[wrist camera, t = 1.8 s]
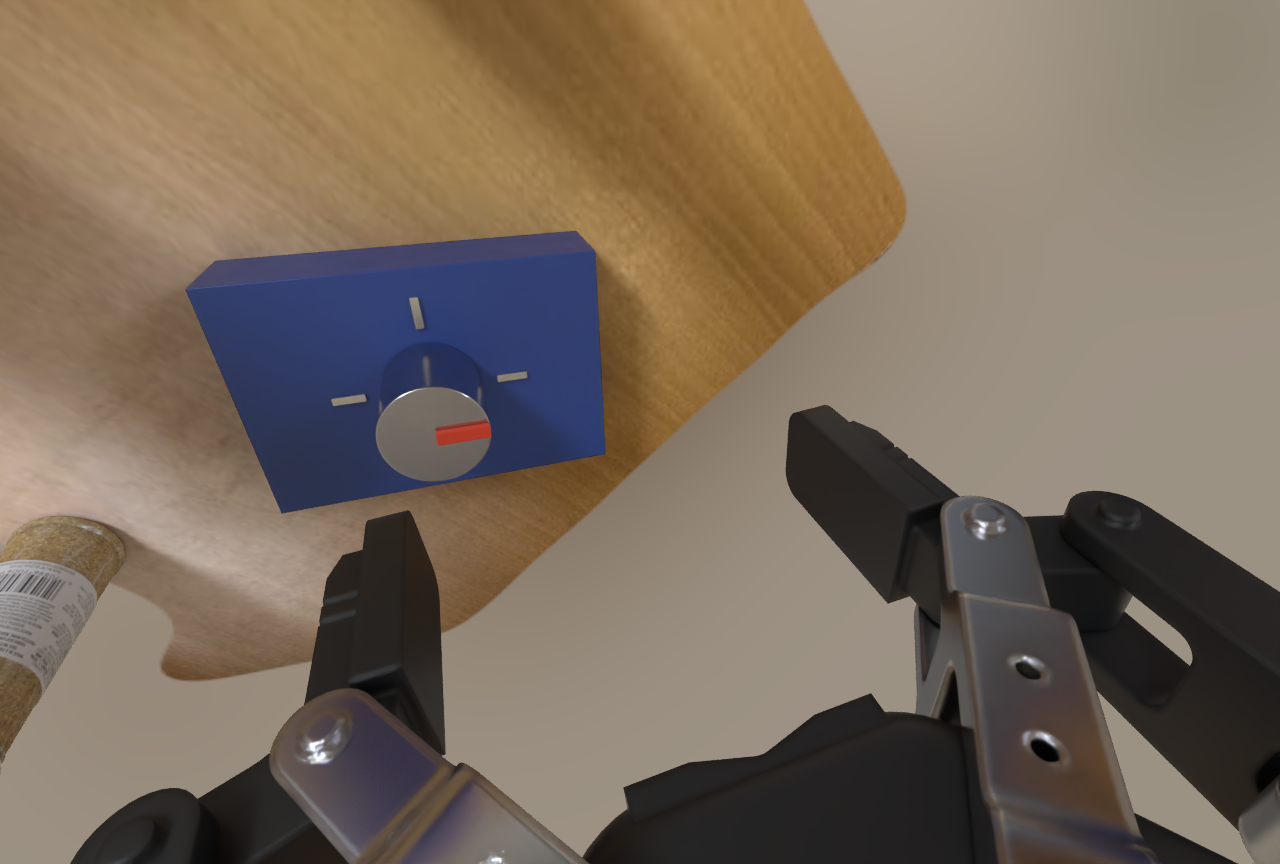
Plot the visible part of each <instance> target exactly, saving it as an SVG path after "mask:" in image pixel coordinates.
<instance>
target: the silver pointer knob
mask: <svg viewBox="0 0 1280 864" xmlns="http://www.w3.org/2000/svg"><path fill="white" fill-rule="evenodd" d="M491 437H492V431H491V424H490V418H489V413H488V408H487V403H486V398H485V393H484V388H483V383H482V378H481V375H480V372H479V370H478V368H477V367H476V365H475V364H474V363H473V361H472V360H471V359H470V358H469V357H468V356H467V355H465V354H464V353H462V352H461V351H459V350H457V349H455V348H453V347H450V346H447V345H443V344H435V343H427V344H419V345H415V346H412V347H409V348H407V349H405V350H403V351H401V352H400V353H398V354H397V355H396V356H395V357H394V358H393V359H392V360H391V361H390V362H389V364H388V365H387V366H386V368H385V371H384V373H383V376H382V382H381V390H380V398H379V406H378V414H377V422H376V430H375V439H376V444H377V447H378V450H379V452H380V454H381V456H382V457H383V458H384V460H385V461H386V462H387V463H388V464H389V465H390V466H391V467H392V468H393V469H395V470H396V471H397V472H399V473H401V474H403V475H405V476H407V477H410V478H413V479H416V480H422V481H444V480H449V479H453V478H456V477H459V476H461V475H463V474H465V473H467V472H468V471H470V470H471V469H473V468H474V467H475V466H476V465H477V464H478V463H479V462H480V461H481V460H482V459H483V457H484V456H485V454H486V452H487V451H488V448H489V446H490V442H491Z"/></svg>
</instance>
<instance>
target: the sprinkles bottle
mask: <svg viewBox="0 0 1280 864" xmlns="http://www.w3.org/2000/svg"><path fill="white" fill-rule="evenodd" d="M124 558H125V551H124V545H123V544H122V543H121V541H120V540H119V538H117V537H116V536H115V535H114V534H113V532H111V531H110V530H108V529H106V528H105V527H104V526H102V525H100V524H98V523H95V522H93V521H90V520H85V519H80V518H75V517H67V516H65V517H63V516H58V517H57V516H53V517H46V518H41V519H37V520H34V521H31V522H29V523H27V524H25V525H23V526H22V527H20V528H18V529H17V530H16V531H15V532H14V533H13V534H12V536H11V537H10V539H9V541H8V542H7V544H6V547H5V548H4V550H3V551H2V552H1V553H0V772H1V764H2V763H3V761H4V758H5V754H6V752H7V751H8V749H9V748H10V746H11V744H12V743H13V741H14V739H15V737H16V736H17V734H18V732H19V731H20V729H21V728H22V726H23V724H24V723H25V721H26V719H27V717H28V716H29V714H30V712H31V711H32V709H33V708H34V707H35V705H37V703H38V702H39V700H40V699H41V697H42V695H43V694H44V692H45V690H46V689H47V687H48V685H49V684H50V682H51V680H52V679H53V677H54V675H55V674H56V672H57V670H58V669H59V667H60V665H61V664H62V662H63V660H64V659H65V657H66V655H67V654H68V652H69V650H70V649H71V647H72V645H73V644H74V642H75V641H76V639H77V637H78V635H79V634H80V632H81V631H82V629H83V627H84V626H85V624H86V622H87V621H88V619H89V617H90V616H91V614H92V612H93V611H94V609H95V607H96V603H97V601H98V599H99V598H100V596H101V595H102V593H103V591H104V590H105V588H106V586H107V585H108V583H109V581H110V579H111V578H112V577H113V576H114V575H115V574H116V573H117V572H118V571H119V569H120V567H121V566H122V565H123V562H124Z"/></svg>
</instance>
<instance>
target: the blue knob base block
mask: <svg viewBox="0 0 1280 864" xmlns="http://www.w3.org/2000/svg"><path fill="white" fill-rule="evenodd" d="M186 292H187V294H188V297H189V299H190V301H191V304H192V306H193V308H194V311H195V313H196V315H197V318H198V320H199V322H200V325H201V327H202V329H203V332H204V334H205V336H206V339H207V341H208V343H209V346H210V348H211V350H212V352H213V355H214V357H215V359H216V362H217V364H218V366H219V369H220V371H221V373H222V376H223V378H224V380H225V383H226V385H227V387H228V390H229V392H230V394H231V397H232V399H233V401H234V404H235V406H236V408H237V411H238V413H239V415H240V418H241V420H242V422H243V425H244V427H245V429H246V431H247V434H248V436H249V438H250V441H251V443H252V445H253V448H254V450H255V452H256V455H257V457H258V459H259V462H260V464H261V466H262V469H263V471H264V473H265V476H266V478H267V480H268V483H269V485H270V487H271V490H272V492H273V494H274V497H275V499H276V501H277V504H278V506H279V508H280V510H281V513H287V512H292V511H298V510H303V509H308V508H314V507H319V506H325V505H330V504H336V503H341V502H347V501H352V500H357V499H363V498H368V497H374V496H379V495H385V494H390V493H396V492H401V491H407V490H412V489H417V488H423V487H428V486H434V485H439V484H445V483H450V482H456V481H461V480H466V479H472V478H477V477H483V476H488V475H494V474H499V473H505V472H510V471H515V470H521V469H526V468H532V467H537V466H543V465H548V464H554V463H559V462H564V461H570V460H575V459H581V458H586V457H592V456H597V455H603V454H605V437H604V416H603V396H602V376H601V355H600V335H599V315H598V294H597V274H596V254H595V250H594V249H593V248H592V247H591V246H590V245H589V244H588V243H587V242H586V241H585V240H584V239H583V238H582V237H581V236H580V235H579V233H578V232H577V231H569V232H557V233H545V234H533V235H521V236H509V237H497V238H485V239H473V240H461V241H449V242H437V243H425V244H413V245H401V246H389V247H377V248H365V249H353V250H341V251H329V252H317V253H305V254H293V255H281V256H269V257H257V258H245V259H234V260H222V261H215V262H214V263H213V264H212V265H210V266H209V267H208V268H207V269H206V270H205V271H204V272H203V273H202V274H201V275H200V276H199V277H198V278H197V279H196V280H195V281H194V282H192V283H191V284H190V285H189V286H188V287H187V288H186ZM427 343H435V344H443V345H447V346H450V347H453V348H455V349H457V350H459V351H461V352H462V353H464V354H465V355H467V356H468V357H469V358H470V359H471V360H472V361H473V363H474V364H475V365H476V367H477V368H478V370H479V372H480V375H481V378H482V383H483V388H484V393H485V398H486V403H487V408H488V413H489V418H490V424H491V431H492V437H491V442H490V446H489V448H488V451H487V452H486V454H485V456H484V457H483V459H482V460H481V461H480V462H479V463H478V464H477V465H476V466H475V467H474V468H473V469H471V470H470V471H468V472H467V473H465V474H463V475H461V476H459V477H456V478H453V479H449V480H444V481H422V480H416V479H413V478H410V477H407V476H405V475H403V474H401V473H399V472H397V471H396V470H395V469H393V468H392V467H391V466H390V465H389V464H388V463H387V462H386V461H385V460H384V458H383V457H382V456H381V454H380V452H379V450H378V447H377V444H376V439H375V430H376V422H377V414H378V406H379V398H380V390H381V382H382V376H383V373H384V371H385V368H386V366H387V365H388V364H389V362H390V361H391V360H392V359H393V358H394V357H395V356H396V355H397V354H398V353H400V352H401V351H403V350H405V349H407V348H409V347H412V346H415V345H419V344H427Z"/></svg>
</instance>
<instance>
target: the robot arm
mask: <svg viewBox="0 0 1280 864" xmlns="http://www.w3.org/2000/svg"><path fill="white" fill-rule="evenodd" d="M786 477H787V482H788V485H789V487H790V490H791V491H792V493H793V495H794V496H795V498H796V499H797V500H798V501H799V502H800V504H802V505H803V507H804V508H805V509H806V510H807V511H808V513H809V514H810V515H811V516H812V517H813V518H814V520H815V521H816V522H817V523H818V524H819V525H820V526H821V528H822V529H823V530H824V531H825V532H826V533H827V534H828V536H829V537H830V538H831V539H832V540H833V541H834V542H835V544H836V545H837V546H838V547H839V548H840V549H841V550H842V552H843V553H844V554H845V555H846V556H847V557H848V558H849V560H850V561H851V562H852V563H853V564H854V565H855V566H856V568H857V569H858V570H859V571H860V572H861V573H862V574H863V576H864V577H865V578H866V579H867V580H868V581H869V582H870V584H871V585H872V586H873V587H874V588H875V589H876V590H877V592H878V593H879V594H880V595H881V596H882V597H883V598H884V599H885V601H886V602H887V603H891V602H894V601H897V600H900V599H903V598H906V597H909V596H910V597H911V598H912V599H913V600H914V601H915V602H916V603H917V604H916V607H915V612H914V630H915V658H916V683H917V701H916V711H915V714H913V713H905V712H884V711H883V709H882V708H881V706H880V705H879V704H878V703H877V701H876V699H875V698H874V697H873V695H872V694H868V695H865V696H863V697H860V698H857V699H855V700H852V701H849V702H847V703H844V704H842V705H839V706H836V707H834V708H831V709H828V710H826V711H823V712H821V713H818V714H815V715H814V716H812V717H811V718H810V719H809V720H807V721H806V722H805V723H803V724H802V725H801V726H800V727H798V728H797V729H796V730H794V731H793V732H792V733H791V734H789V735H788V736H787V737H786V738H784V739H783V740H782V741H780V742H779V743H778V744H777V745H776V746H774V747H773V748H771V749H770V750H769V751H767V752H766V753H764V754H762V755H759V756H754V757H743V758H733V759H722V760H712V761H701V762H690V763H687V764H684V765H681V766H679V767H676V768H673V769H671V770H668V771H666V772H663V773H660V774H658V775H655V776H652V777H650V778H647V779H645V780H642V781H639V782H637V783H634V784H631V785H629V786H626V787H624V793H625V798H626V803H627V808H628V809H627V810H625V811H624V812H623V813H621V814H620V815H619V816H618V817H616V818H615V819H614V820H613V821H612V822H611V823H610V824H609V825H608V826H607V827H606V828H605V829H604V830H603V831H602V832H601V833H600V834H599V835H598V836H597V838H596V839H595V840H594V841H593V843H592V844H591V845H590V846H589V848H588V849H587V851H586V852H585V854H584V855H583V857H581V856H579V855H578V854H577V853H576V852H575V851H573V850H572V849H571V848H570V847H569V846H567V845H566V844H565V843H564V842H562V841H561V840H560V839H559V838H557V837H556V836H555V835H554V834H553V833H552V832H550V831H549V830H548V829H547V828H546V827H544V826H543V825H542V824H541V823H539V822H538V821H537V820H536V819H535V818H533V817H532V816H531V815H530V814H529V813H527V812H526V811H525V810H524V809H522V808H521V807H520V806H519V805H518V804H516V803H515V802H514V801H513V800H512V799H510V798H509V797H508V796H507V795H505V794H504V793H503V792H502V791H501V790H499V789H498V788H497V787H496V786H494V785H493V784H492V783H491V782H490V781H489V780H487V779H486V778H485V777H484V776H483V775H481V774H480V773H479V772H477V771H476V770H475V769H473V768H472V767H470V766H469V765H467V764H465V763H459V764H458V765H457V766H454V765H453V764H451V763H450V762H448V761H447V760H446V759H445V758H443V757H442V755H445V728H444V704H443V703H444V702H443V679H442V678H443V677H442V651H441V626H440V600H439V591H438V585H437V580H436V576H435V573H434V569H433V566H432V564H431V561H430V559H429V556H428V554H427V551H426V549H425V546H424V544H423V541H422V538H421V536H420V533H419V531H418V528H417V526H416V523H415V521H414V518H413V516H412V514H411V513H410V511H408V510H407V511H403V512H399V513H395V514H392V515H388V516H384V517H380V518H376V519H372V520H368V521H367V522H366V526H365V534H364V543H363V550H360V551H357V552H353V553H349V554H345V555H342V557H341V558H340V560H339V561H338V563H337V564H336V566H335V567H334V569H333V570H332V572H331V573H330V575H329V576H328V578H327V581H326V587H325V592H324V598H323V605H324V606H323V607H322V609H321V615H320V620H319V622H320V626H319V627H318V631H317V637H316V643H315V648H314V654H313V659H312V665H311V670H310V676H309V682H308V687H307V693H306V698H305V703H304V706H303V707H301V708H300V709H298V710H297V711H296V712H295V713H294V714H293V715H292V716H291V717H290V718H289V719H288V721H287V722H286V723H285V724H284V725H283V727H282V728H281V730H280V731H279V732H278V734H277V736H276V739H275V740H274V742H273V745H272V748H271V751H270V754H268V755H267V756H265V757H264V758H263V759H262V760H260V761H259V762H257V763H256V764H254V765H253V766H251V767H250V768H248V769H246V770H245V771H243V772H242V773H240V774H238V775H236V776H235V777H233V778H231V779H230V780H228V781H226V782H225V783H223V784H222V785H220V786H218V787H217V788H215V789H213V790H212V791H210V792H208V793H207V794H205V795H203V796H202V797H200V798H198V799H197V798H196V797H195V796H194V795H193V794H191V793H190V792H188V791H186V790H183V789H180V788H168V789H161V790H158V791H155V792H152V793H149V794H146V795H144V796H142V797H140V798H138V799H136V800H134V801H132V802H131V803H129V804H127V805H126V806H125V807H123V808H121V809H120V810H119V811H117V812H116V813H114V814H113V815H112V816H111V817H110V818H108V819H107V820H106V821H105V822H104V823H103V824H102V825H101V826H100V827H98V828H97V829H96V830H95V831H94V833H93V834H92V835H91V836H90V837H89V838H88V839H87V840H86V841H85V843H84V844H83V845H82V847H81V848H80V849H79V851H78V852H77V854H76V855H75V857H74V859H73V860H72V862H71V864H1237V863H1235V862H1233V861H1231V860H1229V859H1227V858H1225V857H1223V856H1221V855H1219V854H1217V853H1215V852H1213V851H1211V850H1209V849H1207V848H1205V847H1203V846H1201V845H1199V844H1197V843H1195V842H1193V841H1191V840H1189V839H1186V838H1185V837H1182V836H1181V835H1179V834H1176V833H1174V832H1172V831H1170V830H1168V829H1166V828H1164V827H1162V826H1160V825H1158V824H1156V823H1154V822H1152V821H1150V820H1148V819H1146V818H1144V817H1142V816H1140V815H1138V814H1136V813H1134V812H1133V809H1132V805H1131V802H1130V799H1129V796H1128V792H1127V789H1126V786H1125V782H1124V779H1123V776H1122V773H1121V769H1120V766H1119V763H1118V759H1117V756H1116V753H1115V749H1114V746H1113V743H1112V740H1111V736H1110V733H1109V730H1108V726H1107V723H1106V720H1105V717H1104V713H1103V711H1102V707H1101V703H1100V700H1099V697H1098V694H1097V691H1098V692H1099V693H1100V694H1101V695H1102V696H1103V697H1104V698H1105V699H1106V700H1107V701H1108V702H1109V703H1110V704H1111V705H1112V706H1113V707H1114V708H1115V709H1116V710H1117V711H1118V712H1119V713H1120V714H1121V715H1122V716H1123V717H1124V718H1125V719H1126V720H1127V721H1128V722H1129V723H1130V724H1131V725H1132V726H1133V727H1134V728H1135V729H1136V730H1137V731H1138V732H1139V733H1140V734H1141V735H1142V736H1143V737H1144V738H1145V739H1146V740H1147V741H1148V742H1150V744H1152V745H1153V747H1154V748H1155V749H1157V751H1159V753H1160V754H1161V755H1163V756H1164V757H1165V758H1166V759H1167V760H1168V761H1169V762H1170V763H1171V764H1172V765H1173V766H1174V767H1175V768H1176V769H1177V770H1178V771H1179V772H1180V773H1181V774H1182V775H1183V776H1184V777H1185V778H1186V779H1187V780H1188V781H1189V782H1190V783H1191V784H1192V785H1193V786H1194V787H1195V788H1196V789H1197V790H1198V791H1199V792H1200V793H1201V794H1202V795H1203V796H1204V797H1205V798H1206V799H1207V800H1208V801H1209V802H1210V803H1211V804H1212V805H1213V806H1214V807H1215V808H1216V809H1217V810H1218V811H1219V812H1220V813H1221V814H1222V815H1223V816H1224V817H1225V818H1226V819H1227V820H1228V821H1229V822H1230V823H1231V824H1232V825H1233V826H1234V827H1235V828H1236V829H1237V830H1238V831H1239V832H1240V835H1241V838H1242V841H1243V844H1244V845H1245V847H1246V849H1247V851H1248V853H1249V854H1250V856H1251V857H1252V859H1253V860H1254V863H1253V864H1280V592H1279V591H1277V590H1276V589H1274V588H1272V587H1271V586H1270V585H1268V584H1267V583H1265V582H1264V581H1262V580H1260V579H1259V578H1257V577H1255V576H1254V575H1253V574H1251V573H1250V572H1248V571H1247V570H1245V569H1244V568H1242V567H1240V566H1239V565H1237V564H1236V563H1234V562H1233V561H1231V560H1230V559H1228V558H1227V557H1225V556H1223V555H1222V554H1220V553H1219V552H1217V551H1216V550H1214V549H1213V548H1211V547H1210V546H1208V545H1206V544H1205V543H1203V542H1202V541H1200V540H1199V539H1197V538H1196V537H1194V536H1192V535H1191V534H1189V533H1188V532H1186V531H1185V530H1183V529H1182V528H1180V527H1179V526H1177V525H1176V524H1174V523H1173V522H1171V521H1170V520H1168V519H1166V518H1165V517H1163V516H1162V515H1160V514H1159V513H1157V512H1155V511H1154V510H1152V509H1151V508H1149V507H1148V506H1146V505H1144V504H1143V503H1141V502H1139V501H1136V500H1134V499H1132V498H1129V497H1126V496H1123V495H1120V494H1116V493H1111V492H1104V491H1087V492H1081V493H1079V494H1076V495H1075V496H1073V497H1072V498H1071V499H1070V501H1069V504H1068V506H1067V508H1066V511H1065V513H1064V515H1061V516H1033V517H1022V516H1021V515H1020V514H1019V513H1018V512H1017V511H1016V510H1014V509H1013V508H1011V507H1009V506H1008V505H1006V504H1004V503H1001V502H999V501H996V500H993V499H990V498H985V497H980V496H961V497H960V496H958V495H957V494H956V493H955V492H953V491H952V490H951V489H950V488H948V487H947V486H946V485H945V484H943V483H942V482H941V481H939V480H938V479H937V478H936V477H935V476H933V475H932V474H931V473H929V472H928V471H927V470H926V469H924V468H923V467H922V466H921V465H919V464H918V463H917V462H915V461H914V460H913V459H912V458H910V459H909V458H908V455H907V454H906V453H904V452H903V451H902V450H901V449H899V448H898V447H894V444H893V443H892V442H890V441H889V440H888V439H887V438H885V437H884V436H882V434H880V433H879V432H878V431H876V430H874V429H872V428H869V427H867V426H864V425H862V424H860V423H857V422H855V421H852V422H848V421H847V420H846V419H845V418H844V417H842V416H841V415H840V414H838V413H837V412H836V411H835V410H834V409H833V408H831V407H830V406H828V405H823V406H819V407H815V408H812V409H807V410H803V411H800V412H796V413H793V414H792V415H791V417H790V420H789V429H788V444H787V459H786ZM1132 596H1134V597H1136V598H1137V599H1138V600H1139V601H1141V602H1142V603H1143V604H1144V605H1146V606H1147V607H1148V608H1149V609H1151V610H1152V611H1153V612H1155V613H1156V614H1157V615H1158V616H1159V617H1161V618H1162V619H1163V620H1165V621H1166V622H1167V623H1168V624H1170V625H1171V626H1172V627H1173V628H1174V629H1176V630H1177V631H1178V632H1179V633H1180V634H1181V635H1182V636H1183V637H1184V638H1185V640H1186V641H1187V642H1188V644H1189V646H1190V648H1191V651H1192V656H1193V660H1192V663H1191V665H1190V666H1189V665H1188V664H1187V663H1185V662H1184V661H1183V660H1182V659H1181V658H1180V657H1178V656H1177V655H1176V654H1175V653H1174V652H1172V651H1171V650H1170V649H1169V648H1168V647H1166V646H1165V645H1164V644H1163V643H1162V642H1160V641H1159V640H1158V639H1157V638H1156V637H1154V636H1153V635H1152V634H1151V633H1150V632H1148V631H1147V630H1146V629H1145V628H1143V627H1142V626H1141V625H1140V624H1139V623H1138V622H1136V621H1135V620H1134V619H1133V618H1132V617H1130V616H1129V615H1128V614H1127V613H1126V612H1124V611H1125V609H1126V607H1127V605H1128V603H1129V602H1130V600H1131V598H1132Z"/></svg>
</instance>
